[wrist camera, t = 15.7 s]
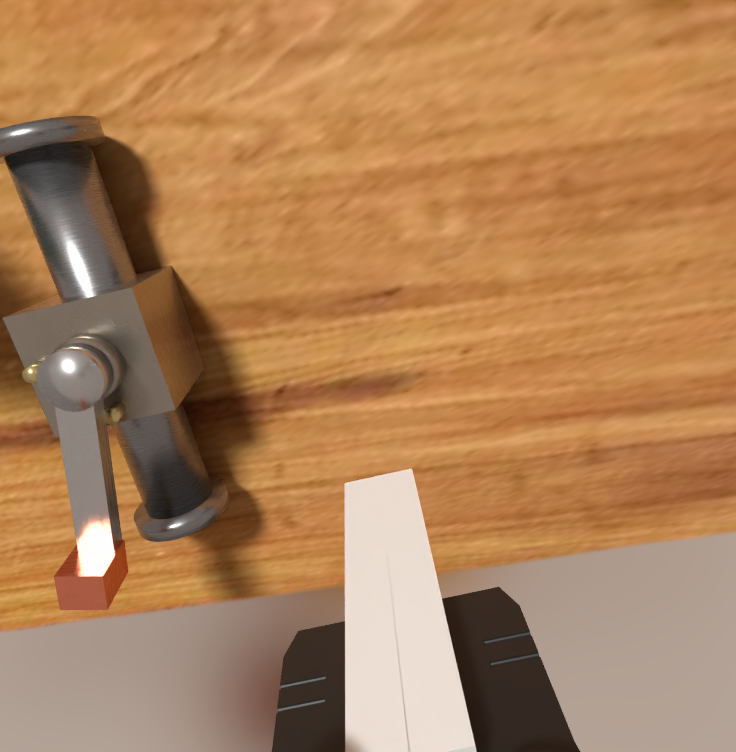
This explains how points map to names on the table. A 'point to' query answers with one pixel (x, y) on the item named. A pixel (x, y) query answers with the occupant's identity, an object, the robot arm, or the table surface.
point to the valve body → (111, 322)
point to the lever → (86, 475)
